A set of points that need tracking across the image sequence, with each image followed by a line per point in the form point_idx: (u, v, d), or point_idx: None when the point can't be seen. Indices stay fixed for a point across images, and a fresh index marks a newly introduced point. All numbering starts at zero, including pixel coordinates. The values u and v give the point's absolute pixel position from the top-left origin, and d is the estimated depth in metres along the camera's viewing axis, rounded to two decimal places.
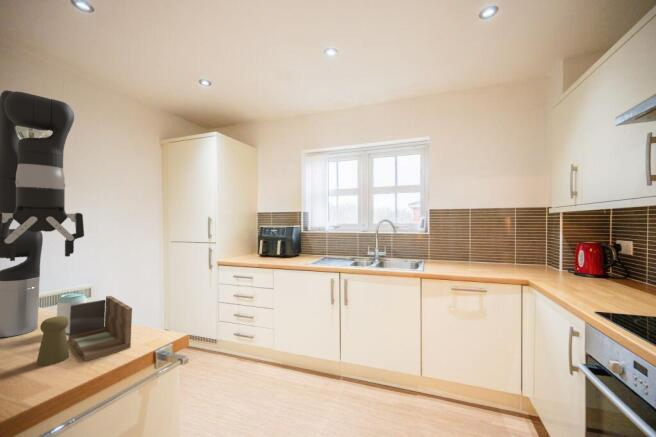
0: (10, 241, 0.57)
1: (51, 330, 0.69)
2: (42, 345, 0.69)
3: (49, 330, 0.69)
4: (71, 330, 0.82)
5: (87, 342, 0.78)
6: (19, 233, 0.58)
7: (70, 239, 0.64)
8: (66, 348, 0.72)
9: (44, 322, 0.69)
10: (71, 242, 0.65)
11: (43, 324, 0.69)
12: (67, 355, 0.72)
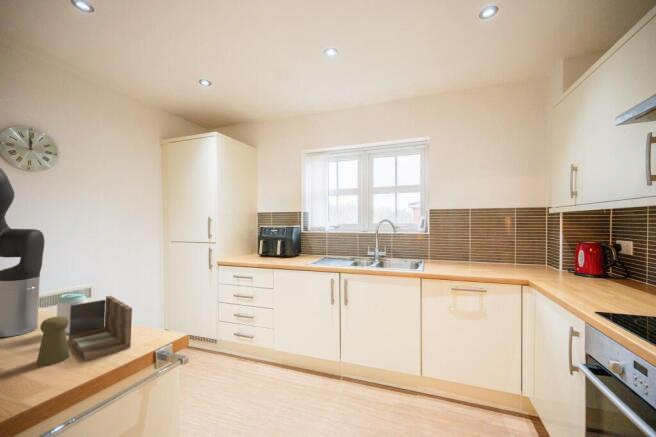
0: None
1: (51, 330, 0.69)
2: (42, 345, 0.69)
3: (49, 330, 0.69)
4: (71, 330, 0.82)
5: (87, 342, 0.78)
6: None
7: None
8: (66, 348, 0.72)
9: (44, 322, 0.69)
10: None
11: (43, 324, 0.69)
12: (67, 355, 0.72)
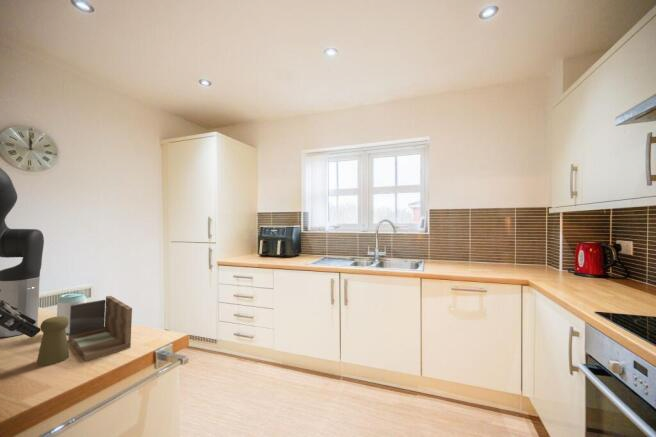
0: None
1: (51, 330, 0.69)
2: (42, 345, 0.69)
3: (49, 330, 0.69)
4: (71, 330, 0.82)
5: (87, 342, 0.78)
6: None
7: None
8: (66, 348, 0.72)
9: (44, 322, 0.69)
10: (19, 329, 0.63)
11: (43, 324, 0.69)
12: (67, 355, 0.72)
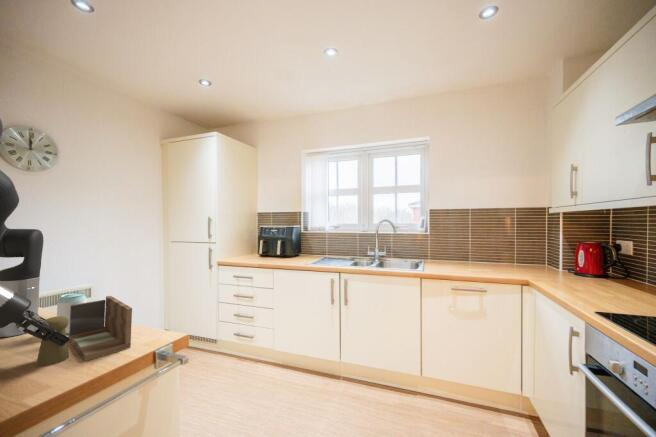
0: None
1: None
2: (42, 345, 0.69)
3: None
4: (71, 330, 0.82)
5: (87, 342, 0.78)
6: None
7: None
8: (66, 348, 0.72)
9: None
10: None
11: (43, 324, 0.69)
12: (67, 355, 0.72)
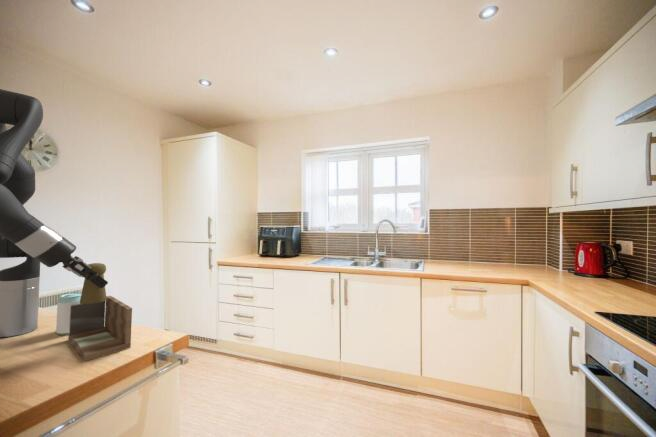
0: None
1: None
2: (85, 286, 0.77)
3: (91, 272, 0.77)
4: (71, 330, 0.82)
5: (87, 342, 0.78)
6: None
7: (88, 280, 0.76)
8: (104, 291, 0.81)
9: None
10: (93, 280, 0.77)
11: None
12: (105, 298, 0.81)
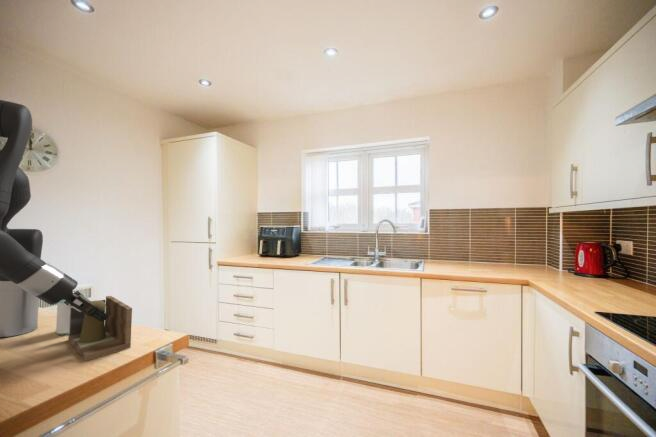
0: None
1: None
2: (84, 325, 0.78)
3: None
4: (71, 330, 0.82)
5: None
6: None
7: None
8: (104, 328, 0.81)
9: None
10: (93, 315, 0.76)
11: None
12: (105, 335, 0.81)
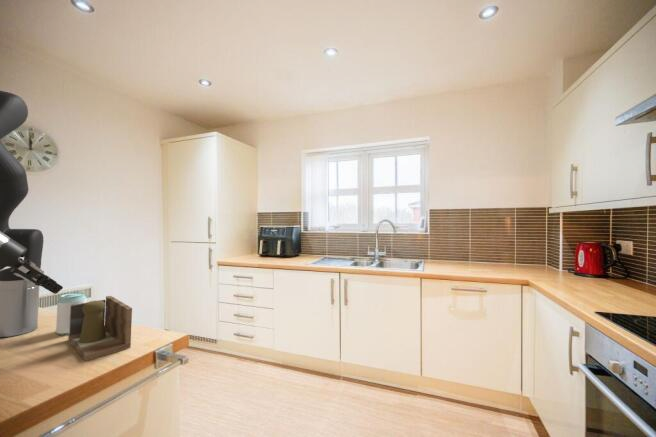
0: None
1: (92, 312, 0.78)
2: (84, 325, 0.78)
3: (90, 311, 0.78)
4: (71, 330, 0.82)
5: None
6: None
7: (39, 285, 0.68)
8: (104, 328, 0.81)
9: (85, 305, 0.78)
10: (44, 285, 0.68)
11: (85, 306, 0.78)
12: (105, 335, 0.81)
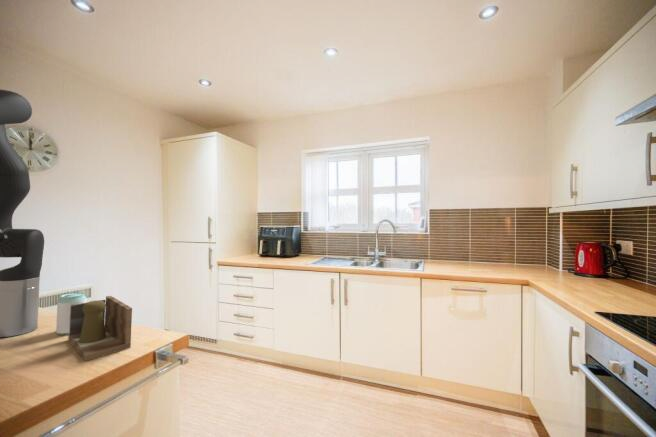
0: None
1: (92, 312, 0.78)
2: (84, 325, 0.78)
3: (90, 311, 0.78)
4: (71, 330, 0.82)
5: None
6: None
7: None
8: (104, 328, 0.81)
9: (86, 305, 0.78)
10: (1, 244, 0.65)
11: (85, 306, 0.78)
12: (105, 335, 0.81)
